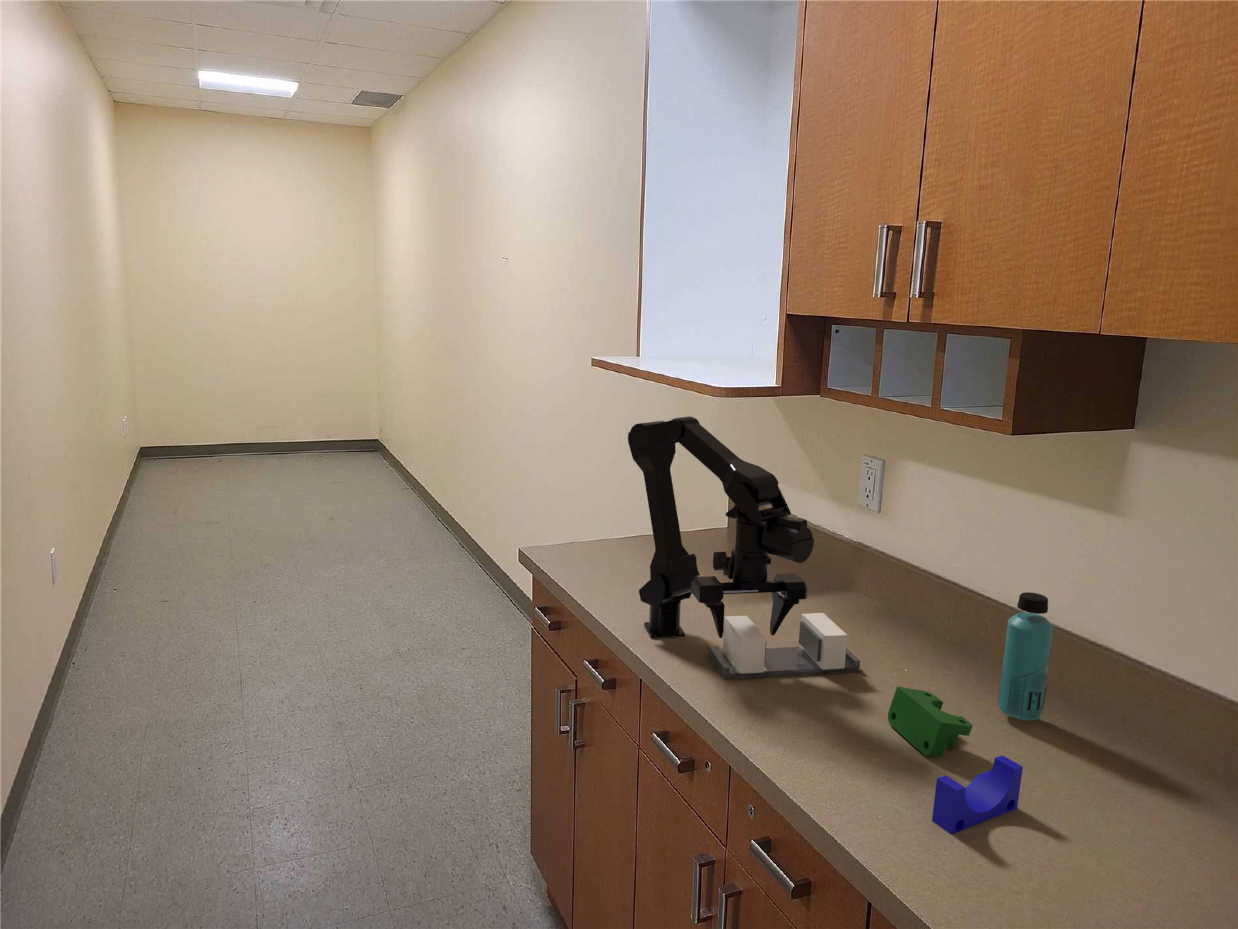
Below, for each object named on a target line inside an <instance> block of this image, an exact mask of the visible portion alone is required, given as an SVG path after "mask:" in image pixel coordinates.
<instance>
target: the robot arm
mask: <svg viewBox="0 0 1238 929" xmlns="http://www.w3.org/2000/svg"><path fill="white" fill-rule="evenodd" d="M627 442H628V446H629V451H630V453H631V457H632V459H633V461H634V463H635V464H636V465H637V466H638V467H639V469H640V470H641V471H642V474H643V478H644V484H645V492H646V498H647V503H648V510H649V517H650V523H651V530H652V535H653V541H654V547H655V548H654V554H653V556H652V559H651V562H650V564H649V573H650V574H649V575H650V576H649V578H650V579H649V580H648V581H647V582H646V583H644V585H642V587H640V588H639V589H638V593H639V597H640V602H642V603H644V604H647V605H649V617H648V618H649V620H648V622H647V621H646V622H643V626H644V628H645V630H646V632H647V634H648V635H649V637H650V638H652V639H657V638H659V639H660V638H681V637H685V636H686V632H685V631H684V630H683V628H682V627H681V608H682V607H681V603H682V601H683V600H686V599H687V600H688V599H691V596H692V595H693V597H694V598H695V600H697V602H698V603H700V604H704V605H705V607H707V608H709V610H710V613H711V615H712V619H713V621H714V626H715V629H716V633H717V636H718V638H719V639H723V637H724V620H725V604H724V602H723V599H724V595H735V594H736V595H738V594H739V595H740V594H742V595H743V594H759V593H760V594H762V593H763V594H765V593H771V596H772V597H771V598H772V604H771V605H772V607H771V615H770V620H769V621H770V622H769V634H770V635H771V636H775V635H776V633H777V631H778V630H779V629H780V626H782V625H781V624H782V623H783V621H784V620H785V618H786V616H787V615H788V614H789V612H790V611H791V610H792V608H793V607H794V606H795V605H799V604H800V600H806V599H808V592H809V588H808V584H807V583H806V582H805V581H804V580H803V579H802V578H800V576H798V575H797V574H796V573H776V574H775V575H774V576H773V580H768V573H769V572H768V570H769V565H771V563H772V557H771V556H769V555H772V556H775V557H778V558H781V559H785V560H787V561H790V562H795V563H797V564H803V563H804V562H806V561H807V560H808V558H809V557H810V556H811V554H812V552H813V549H814V546H815V539H814V536H813V533H812V530H811V529H810V528H808V520H807V519H804V518H796V517H792V516H791V515H792V511H791V510H790V508H789V505H788V503H787V501H786V499H785V497H784V495H783V493H782V491H781V489H780V487H779V480H778V478H777V477H776V476H775V475H774V474H773V473H772V472H770V471H769V470H767V469H764V468H762V467H761V466H759V465H757V464H754V463H751V462H749V461H745V460H743V459H741V458H740V457H739V456H738V455H737V454H736V453H734V452H733V451H732V450H730V448H728V447H727V446H726V445H725V444H724V443H722V442H721V441H720V440H719V439H718V438H716V437H715V435H713V434H712V433H711V432H709V430H707V429H706V428H705V427H703V426H702V425H701V424H700V421H699V420H698V419H697V418H696V417H693V416H682V417H675V418H672V419H670V420H667V421H664V420H657V421H656V420H655V421H649V422H647V421H646V422H639V423H635V424H633V425H632V427H631V429H630V431H629V432H628V433H627ZM678 443H679V444H680V445H681V446H682V447H683V448H684V449H685V450H687V451H688V452H689V453H690V454H691V456H693V457H695V459H697V460H698V461H699V462H700V463H701V464H702V465H703V466H704V467H706V468H707V469H708V470H709V471H710V472H711V473H713V474H714V476H715V477H717V478H718V479H719V480H720V482H721V483H722V486H723V490H724V493H725V495H726V496H727V497H728V498H729V500H730V501H731V502H732V503H733V504H734V506H733V507H731V509H730V510H727V512H725V517H726V518H731V519H734V520H735V530H734V531H735V532H734V548H732V549H731V554H730V555H731V556H728V555H727V552H726V551H714V552H713V555H712V568H713V570H714V571H723V572H722V573H723V576H726V577H727V578H728V579H729V580H732V581H729V582H726V581H725V582H720V580H719V579H718V578H717V577H716V576H715V575H713V576H712V575H711V576H710V575H709V576H707V575H706V576H700V572H699V570H698V565H697V564H698V562H697V556H696V554H695V553H691V554H690V553H689V552H688V551H687V550H686V548H685V547H684V546H683V542H682V535H681V529H680V522H679V517H678V511H677V503H676V496H675V491H674V484H673V480H672V479H673V478H672V472H671V466H672V463H673V461H674V459H675V455H676V444H678ZM768 506H770V507H769V508H765V507H768ZM759 508H760V509H759ZM761 508H764V509H761Z"/></svg>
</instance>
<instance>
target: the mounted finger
mask: <svg viewBox="0 0 1238 929" xmlns="http://www.w3.org/2000/svg"><path fill="white" fill-rule="evenodd" d="M798 634H799V636H798V645H799V646H798V647H801V648H802V649H803V650H804V651H805V652H806V653H807V654H808V655H809V656H810V657H811V658H812V659H813V660H814V662H815V663H816V664H817V665H818V666H819V667H820V668H821V669H822V670H824V669H841V668H844V667H845V656H846V648H847V642H848V634H847V633H846V632H845V631H844V630H843V629H841V627H839V626H838V625H837V624H836V623H835V622H834V621H832V619H831V618H829V617H828V615H826V614H825V613H824V612H814V613H813V612H812V613H801V619H800V623H799V633H798Z"/></svg>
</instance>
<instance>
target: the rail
mask: <svg viewBox="0 0 1238 929" xmlns="http://www.w3.org/2000/svg"><path fill="white" fill-rule="evenodd" d="M707 654H708V657H707V658H708V659H709V660H710V662H711V663H712V665H713V666H714V667H715V669H716V670H717V672H718V674H719V675H720V676H721V678H722V680H735V679H734V678H740V679H755V678H757V677H758V678H771V677H770V676H775V677H789V676H788V675H792V676H804V675H805V676H806V674H808V675H823V674H824V675H827V674H837V673H838V674H839V673H840V674H841V673H843V674H844V673H855V672H856V673H859V672H860V666H861V665H860V664H861V659H859V658H858V657H857V655H855V654H854V653H852V651H850V650H849V648H847V647H846V656H845V667H844V668H841V669H824V670H822V669H821V668H820V667H819V666H818V665H817V664H816V663H815V662H814V660H813V659H812V658H811V657H810V656H809V655H808V654H807V653H806V652H805V651H804V650H803V649H802V648H801V647H800V646H787V647H786V646H785V647H768V648H767V647H766V655H765V664H764V672H759V673H740V672H739V671H738V669H737V668H736V666H735V665H734V664H733V662H732V661H731V659H730V658H729V657H728V655H727V654H726V652H725V651H724V650H723V649H722V650H718V649H717V648H716V646H715V645H708V653H707ZM802 674H804V675H802ZM782 675H783V676H782ZM785 675H787V676H785ZM758 678H757V679H758Z"/></svg>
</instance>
